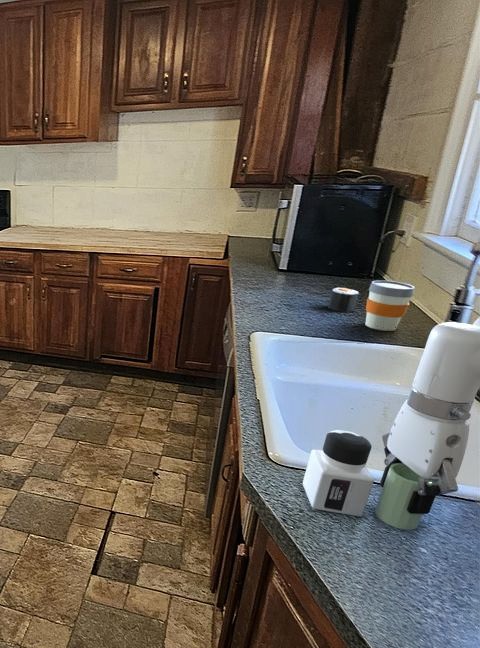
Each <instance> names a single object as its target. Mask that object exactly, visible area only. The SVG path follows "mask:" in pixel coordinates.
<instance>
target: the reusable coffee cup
mask: <svg viewBox="0 0 480 648" xmlns="http://www.w3.org/2000/svg"><path fill="white" fill-rule="evenodd" d="M415 288H416V287H415V286H414V285H412V284H409V283H405V282H401V281H400V282H399V281H394V280H393V281H392V280H373V281H371V283H370V286H369V288H368V291H369V293H368V297H367V298H366V305H365V312H366V316H365V323H364V325H365V326H366V327H368V328H370V329H374V330H378V331H387V332H388V331H389V332H392V331H395V330H397V327H398V326H399V323H400V322H401V319H402V318H403V317H404V316H405V315H406V313H407V310H408V308H409V307H410V301H411V299H412V297H414V293H415ZM377 326H378V327H377ZM383 327H384V328H383ZM395 327H396V328H395Z"/></svg>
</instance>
